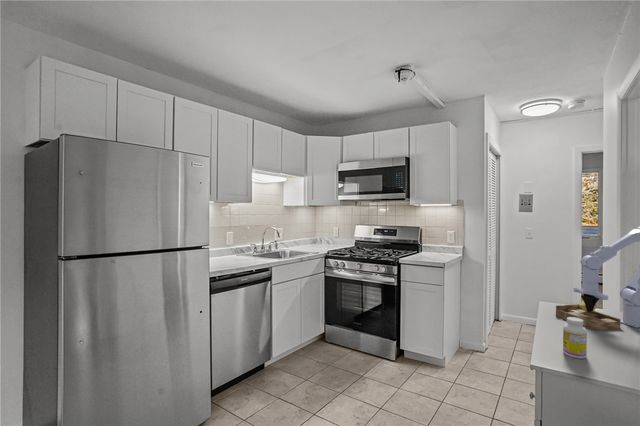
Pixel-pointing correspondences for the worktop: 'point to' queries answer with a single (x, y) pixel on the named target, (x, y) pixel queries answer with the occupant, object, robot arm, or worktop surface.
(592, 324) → the box
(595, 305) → the ochre block
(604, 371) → the worktop surface
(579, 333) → the supplement bottle
